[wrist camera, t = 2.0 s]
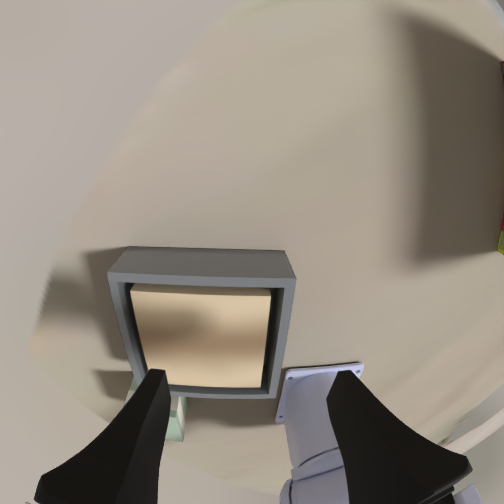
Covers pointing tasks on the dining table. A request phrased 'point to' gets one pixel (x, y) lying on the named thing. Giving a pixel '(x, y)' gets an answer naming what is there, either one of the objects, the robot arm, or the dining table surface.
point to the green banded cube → (176, 414)
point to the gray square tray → (207, 274)
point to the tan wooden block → (203, 332)
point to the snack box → (503, 240)
